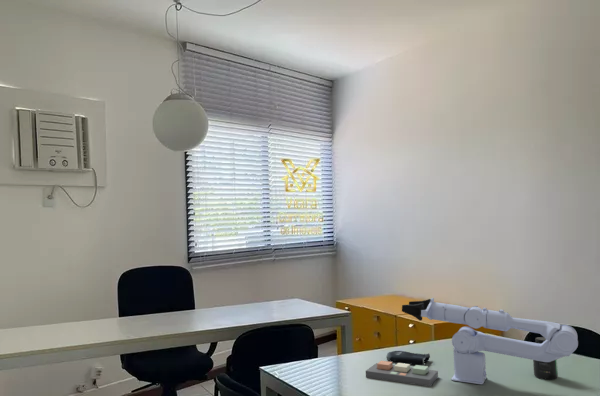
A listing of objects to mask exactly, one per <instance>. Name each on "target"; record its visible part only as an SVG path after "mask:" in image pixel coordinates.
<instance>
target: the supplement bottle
mask: <svg viewBox="0 0 600 396" xmlns="http://www.w3.org/2000/svg"><path fill="white" fill-rule="evenodd" d="M546 340H547V339H545V338H544V337H543V336H540V337H535V342H534V343H539V344H542V343H543V342H544V341H546ZM532 363H533V365H532V366H533V375H534V377H535V378H537V379H541V380H546V381H554V380H557V379H558V376H559V372H558V371H559V370H558V359H556V360H553V361H551V362H542V361H537V360H532Z"/></svg>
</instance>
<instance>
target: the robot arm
mask: <svg viewBox="0 0 600 396" xmlns="http://www.w3.org/2000/svg"><path fill="white" fill-rule="evenodd" d="M401 312H403V313H405V314H407V315H410V316H412V317H414V318H415V319H417V320H418V321H423V318H427V319H428V320H430V321H432V320H434V321H439V322H446V323H453V324H461V325H465V326H462V327H460V328H459V330H458V331H457V332H455V333H454V334H453V335H452V338H451V344H452V347H453V349H452V350H453V370H454V373H453V376H452V377H451V378H450V379H451V381H453V382H455V381H456V382H461V383H470V384H475V385H476V384H477V385H484V382H485V381H486V379H487V368H486V354H485V353H484V352H489V353H495V354H498V355H506V356H511V357H516V358H520V359H522V358H523V359H527V360H532V361H533V360H537V361H542V362H551V361H553V360H556V359H557V360H558V359H561V358H564V357H565V358H566V357H569V356H571V355H572V354H573V353H574V352H575V351H576V350H577V348H578V346H579V339H578V333H577V331H576V329H575V328H574V327H572V326H571V325H569V324H561V323H558V322H554V321H546V320H540V319H528V318H522V317H512V315H511V314H510V313H509V312H506V311H505V310H504V309H499V310H492V309H487V307H483V308H481V307H478V305H474V306H471V307H468V306H462V305H457V304H451V303H444V302H438V301H435V298H434V297H431V298H427V299H425V300H417V301H416V300H415V301H414V300H413V301H408V304H402V305H401ZM481 327H483V328H484V329H490V330H495V331H503V332H508V331H510V330H511V329H516V330H520V331H524V332H530V333H534V334H540V335H541V337H544V338H545V339H547V340H546V341H544V342H543V343H542V344H539V343H535V342H532V341H526V340H520V339H514V338H509V337H502V336H497V335H491V334H486V333H484V332H482V331H478V330H477V329H480V328H481ZM475 329H476V330H475Z"/></svg>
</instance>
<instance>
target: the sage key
mask: <svg viewBox="0 0 600 396" xmlns="http://www.w3.org/2000/svg"><path fill="white" fill-rule="evenodd" d="M412 368H413V373H414V374H421V375H426V374H427V373H428V370H429V366H428V365H424V366H423V365H413V367H412Z"/></svg>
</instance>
